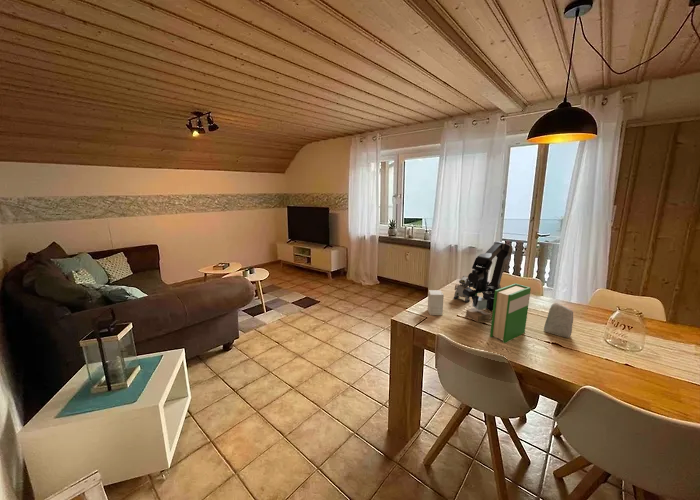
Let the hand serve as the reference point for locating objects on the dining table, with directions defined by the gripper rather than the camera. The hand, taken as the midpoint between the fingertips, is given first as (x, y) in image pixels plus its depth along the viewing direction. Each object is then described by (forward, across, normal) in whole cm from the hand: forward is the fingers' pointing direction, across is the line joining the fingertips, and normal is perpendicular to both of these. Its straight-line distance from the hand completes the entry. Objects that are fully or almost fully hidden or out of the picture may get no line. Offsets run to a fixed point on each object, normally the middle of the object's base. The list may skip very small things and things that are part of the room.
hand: (479, 305), depth 157 cm
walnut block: (+8, 0, 0) cm, 8 cm away
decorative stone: (+7, -26, +25) cm, 37 cm away
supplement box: (+7, +20, -12) cm, 25 cm away
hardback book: (+7, -2, +20) cm, 21 cm away
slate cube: (+1, 0, 0) cm, 1 cm away
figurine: (+7, -8, -25) cm, 27 cm away
